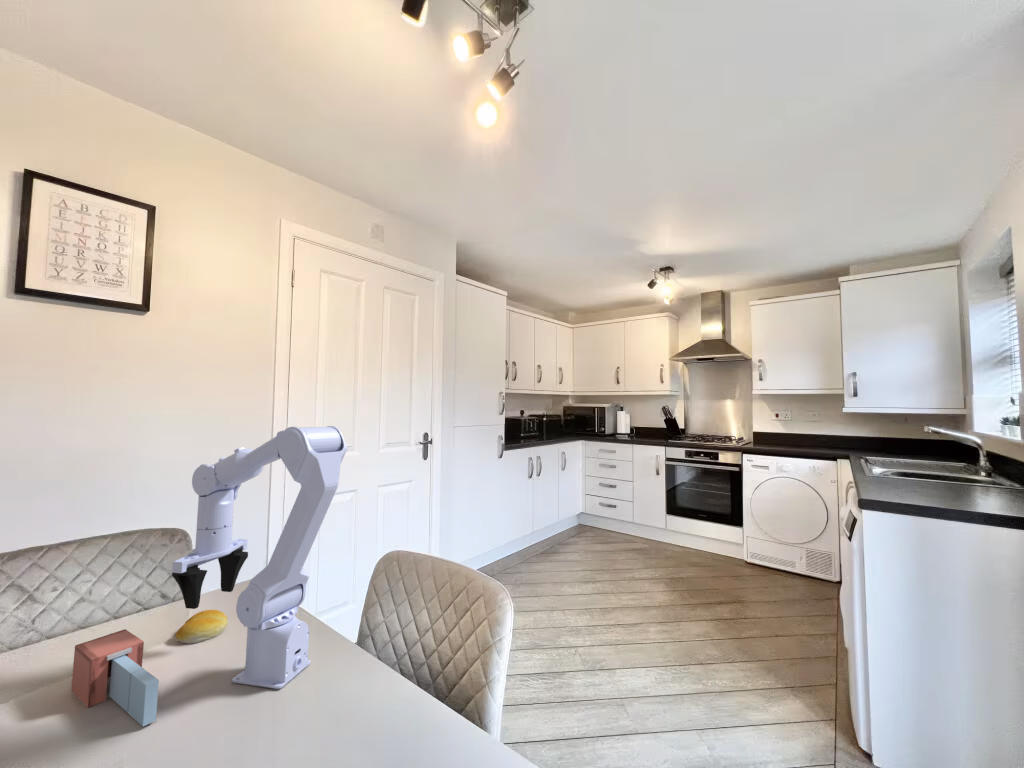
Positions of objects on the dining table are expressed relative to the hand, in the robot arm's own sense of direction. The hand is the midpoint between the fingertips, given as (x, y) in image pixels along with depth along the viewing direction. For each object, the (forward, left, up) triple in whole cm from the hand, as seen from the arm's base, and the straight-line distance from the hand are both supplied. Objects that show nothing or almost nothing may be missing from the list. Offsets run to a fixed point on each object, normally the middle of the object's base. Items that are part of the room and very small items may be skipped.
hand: (210, 599), depth 81 cm
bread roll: (+8, -6, -10) cm, 15 cm away
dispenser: (+7, +12, -10) cm, 17 cm away
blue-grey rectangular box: (-3, +16, -10) cm, 18 cm away
